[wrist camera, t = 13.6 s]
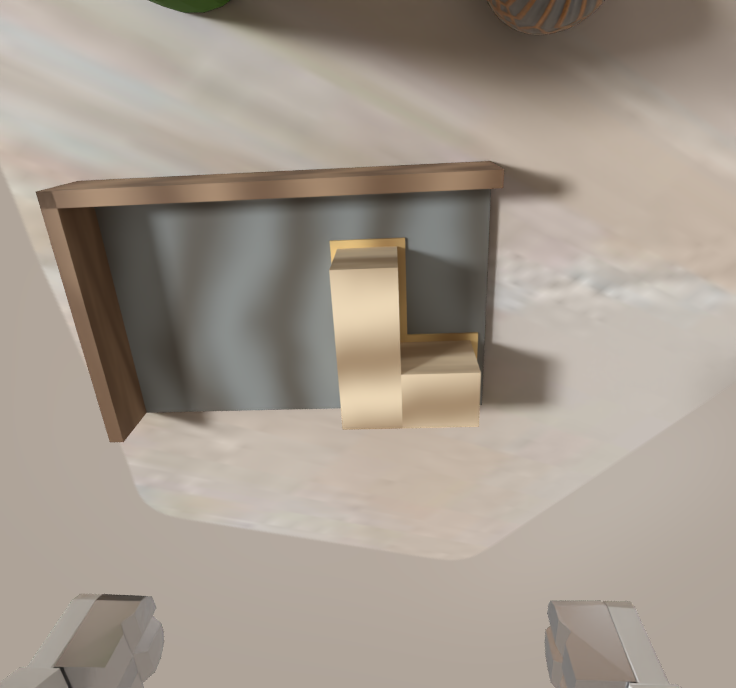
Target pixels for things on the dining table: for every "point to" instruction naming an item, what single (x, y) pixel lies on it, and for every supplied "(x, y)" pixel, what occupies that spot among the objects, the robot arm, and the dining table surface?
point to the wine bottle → (191, 5)
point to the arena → (257, 278)
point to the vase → (543, 14)
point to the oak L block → (393, 354)
